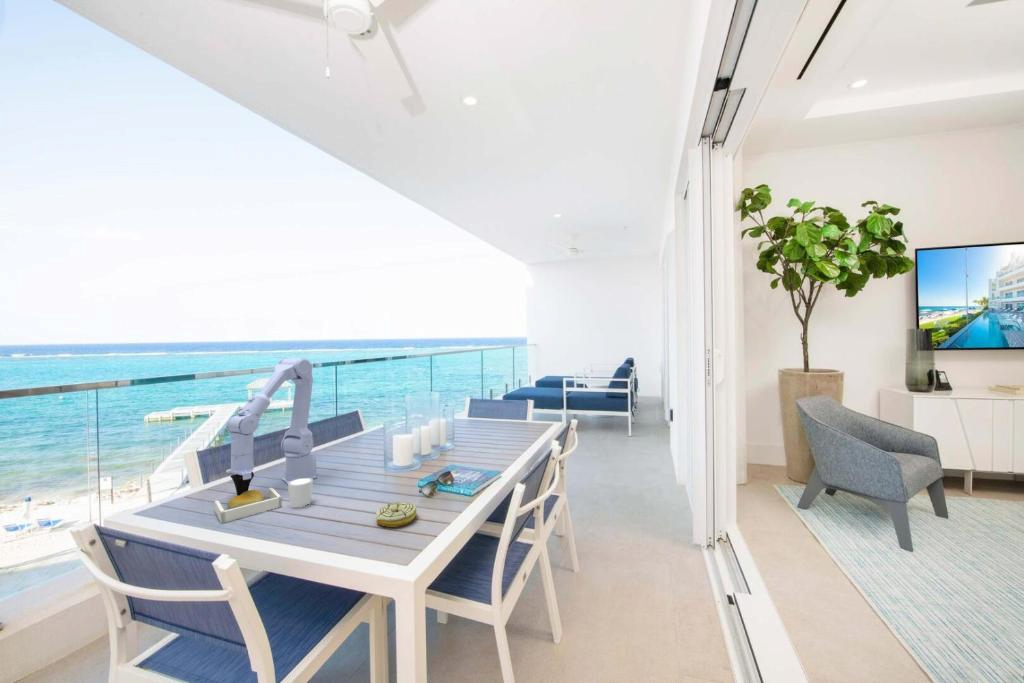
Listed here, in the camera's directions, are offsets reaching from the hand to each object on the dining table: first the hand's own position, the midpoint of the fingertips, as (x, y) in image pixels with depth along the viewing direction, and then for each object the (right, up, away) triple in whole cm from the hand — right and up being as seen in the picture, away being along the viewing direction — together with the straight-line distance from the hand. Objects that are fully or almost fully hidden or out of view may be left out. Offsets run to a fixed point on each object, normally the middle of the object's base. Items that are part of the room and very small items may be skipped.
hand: (242, 496), depth 119 cm
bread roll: (+4, -2, -3) cm, 5 cm away
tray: (+6, -1, -6) cm, 8 cm away
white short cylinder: (+20, -1, -2) cm, 20 cm away
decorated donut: (+52, -2, -13) cm, 54 cm away
